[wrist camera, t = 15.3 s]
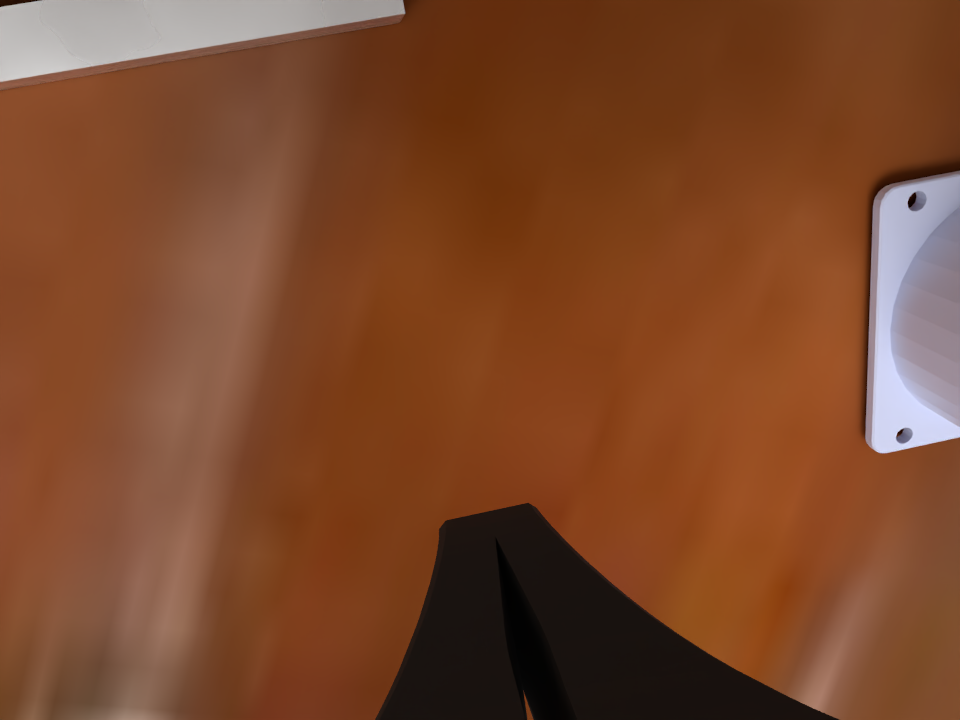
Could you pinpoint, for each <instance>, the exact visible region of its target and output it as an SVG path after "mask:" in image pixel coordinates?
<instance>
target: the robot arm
mask: <svg viewBox="0 0 960 720" xmlns="http://www.w3.org/2000/svg"><path fill="white" fill-rule="evenodd" d="M914 192H916V196H917V197H916V201H915V203H914V204H913V205H912V207H910V208H908V200H909V197H910V196H911V195H912V194H913V193H914ZM903 428H904V430H903V433H902V434H901V435H900V436H898V437H896V435H897V433H898V432H899V431H900V430H901V429H903ZM958 437H960V171H955V172H950V173H945V174H940V175H934V176H929V177H924V178H919V179H914V180H908V181H903V182H898V183H893V184H890V185H887V186H885V187H884V188H882V189H881V190H880V191H879V192H878V194H877V195H876V197H875V199H874V204H873V222H872V253H871V283H870V314H869V344H868V375H867V405H866V436H865V438H866V443H867V444H868V445H869V446H870V447H871V448H872V449H874V450H875V451H877V452H879V453H889V452H894V451H898V450H903V449H908V448H912V447H917V446H921V445H926V444H931V443H935V442H940V441H944V440H949V439H953V438H958ZM523 690H524V693H525V696H526V699H527V702H528V705H529V708H530V710H531V713H532V716H533V719H534V720H839V719H836V718H834V717H832V716H829V715H827V714H825V713H822V712H820V711H818V710H815V709H813V708H811V707H809V706H807V705H805V704H802V703H800V702H798V701H796V700H794V699H792V698H790V697H788V696H786V695H784V694H782V693H780V692H778V691H776V690H774V689H772V688H770V687H768V686H766V685H764V684H763V683H761V682H759V681H757V680H755V679H753V678H751V677H749V676H747V675H745V674H743V673H741V672H739V671H737V670H735V669H734V668H732V667H730V666H728V665H727V664H725V663H723V662H722V661H720V660H718V659H717V658H715V657H713V656H711V655H710V654H708V653H707V652H705V651H703V650H702V649H700V648H699V647H697V646H696V645H694V644H693V643H691V642H690V641H688V640H686V639H685V638H683V637H682V636H680V635H679V634H677V633H676V632H674V631H673V630H672V629H670V628H669V627H667V626H666V625H664V624H663V623H662V622H660V621H659V620H658V619H656V618H655V617H653V616H652V615H651V614H649V613H648V612H647V611H646V610H644V609H643V608H642V607H640V606H639V605H638V604H637V603H635V602H634V601H633V600H631V599H630V598H629V597H627V596H626V595H625V594H624V593H623V592H621V591H620V590H619V589H618V588H617V587H615V586H614V585H613V584H612V583H611V582H609V581H608V580H607V579H606V578H605V577H604V576H603V575H602V574H601V573H599V572H598V571H597V570H596V569H595V568H594V567H593V566H592V565H590V564H589V563H588V562H587V561H586V560H585V559H584V558H583V557H582V556H581V555H580V554H579V553H577V552H576V551H575V550H574V549H573V548H572V547H571V546H570V545H569V544H568V543H567V542H566V541H565V540H564V539H563V538H562V537H561V535H560V534H559V533H558V532H557V531H556V530H555V529H554V528H553V527H552V526H551V525H550V524H549V522H548V521H547V520H546V519H545V518H544V517H543V515H542V514H541V513H540V512H539V511H538V509H537V508H536V507H534V506H532V505H531V504H529V503H526V504H521V505H516V506H512V507H507V508H502V509H498V510H493V511H488V512H484V513H479V514H474V515H470V516H465V517H461V518H456V519H451V520H447V521H445V522H444V524H443V525H442V526H441V528H440V529H439V544H438V551H437V556H436V561H435V565H434V570H433V574H432V578H431V582H430V585H429V588H428V592H427V595H426V598H425V601H424V605H423V608H422V611H421V615H420V618H419V620H418V623H417V626H416V629H415V631H414V634H413V636H412V639H411V641H410V644H409V647H408V649H407V652H406V654H405V657H404V659H403V662H402V664H401V667H400V669H399V671H398V674H397V676H396V678H395V680H394V682H393V685H392V687H391V689H390V691H389V693H388V695H387V697H386V700H385V702H384V704H383V706H382V707H381V709H380V711H379V713H378V715H377V717H376V719H375V720H527V714H526V707H525V700H524V693H523Z"/></svg>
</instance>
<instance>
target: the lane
mask: <svg viewBox="0 0 960 720" xmlns="http://www.w3.org/2000/svg"><path fill="white" fill-rule="evenodd" d="M404 15H405V9H404V4H403V0H40V1H34V2H28V3H22V4H16V5H10V6H3V7H0V90H5V89H11V88H17V87H23V86H29V85H35V84H41V83H47V82H52V81H58V80H64V79H70V78H76V77H82V76H88V75H94V74H100V73H106V72H112V71H117V70H123V69H129V68H135V67H141V66H147V65H153V64H159V63H165V62H171V61H177V60H183V59H188V58H194V57H200V56H206V55H212V54H218V53H224V52H230V51H236V50H242V49H248V48H253V47H259V46H265V45H271V44H277V43H283V42H289V41H295V40H301V39H307V38H313V37H318V36H324V35H330V34H336V33H342V32H348V31H354V30H360V29H366V28H372V27H378V26H384V25H389V24H395V23H400V21H401V19H402V18H403V16H404Z"/></svg>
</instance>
